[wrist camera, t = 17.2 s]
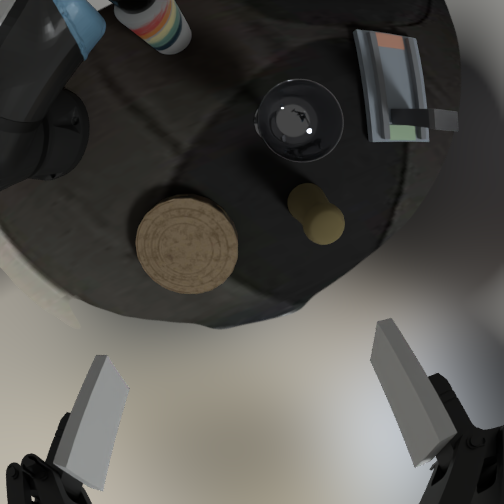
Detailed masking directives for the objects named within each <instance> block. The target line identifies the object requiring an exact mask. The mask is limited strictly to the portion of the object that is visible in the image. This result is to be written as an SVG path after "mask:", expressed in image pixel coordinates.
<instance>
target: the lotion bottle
mask: <svg viewBox="0 0 504 504" xmlns="http://www.w3.org/2000/svg"><path fill="white" fill-rule="evenodd" d="M109 1H110V2H112V3H113V4H114V5H115V6H114V13H115V16H116V18H117V19H118V20H119V21H120V22H121V23H122V24H124V25H125V26H126V27H128V28H129V29H130V30H132V31H133V32H134V33H135V34H137V35H138V36H139V37H141V38H142V39H143V40H144V41H146V42H147V43H148V44H149V45H151V46H152V47H153V48H154V49H156V50H157V51H159V52H160V53H163V54H176V53H178V52H180V51H182V50H183V49H185V48H186V47H187V46H188V44H189V43H190V40H191V30H190V28H189V26H188V24H187V22H186V20H185V18H184V16H183V15H182V13H181V11H180V9H179V8H178V6H177V4H176V2H175V1H174V0H109Z"/></svg>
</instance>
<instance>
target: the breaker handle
mask: <svg viewBox="0 0 504 504" xmlns="http://www.w3.org/2000/svg"><path fill="white" fill-rule="evenodd" d="M391 117H392V124H398V125H408V126H417V127H425V128H430V129H437V130H450V131H458V117H457V112H455V111H447V110H439V109H391Z"/></svg>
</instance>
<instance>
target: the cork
mask: <svg viewBox="0 0 504 504" xmlns="http://www.w3.org/2000/svg"><path fill="white" fill-rule="evenodd" d="M288 209H289V211H290V213H291V214H292V216H293V217H295V218H296V219H297V220H298V221H299V222H300V223H301V224H303V229H304V232H305V234H306V235H307V237H308V238H309V239H310V240H312V241H313V242H314V243H317V244H321V245H324V244H330V243H333V242H334V241H336V240H337V239H338V238H339V237H340V236H341V235H342V232H343V230H344V226H345V221H344V216H343V214H342V212H341V211H340V209H339V208H337V207H336V206H335V205H334V204H331V203H329V201H328V199H327V198H326V196H325V194H324V192H323V191H322V189H321V188H319V187H318V186H317V185H314V184H312V183H304V184H300V185H298V186H297V187H295V188H294V189H293V190H292V191H291V193H290V194H289V197H288Z"/></svg>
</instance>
